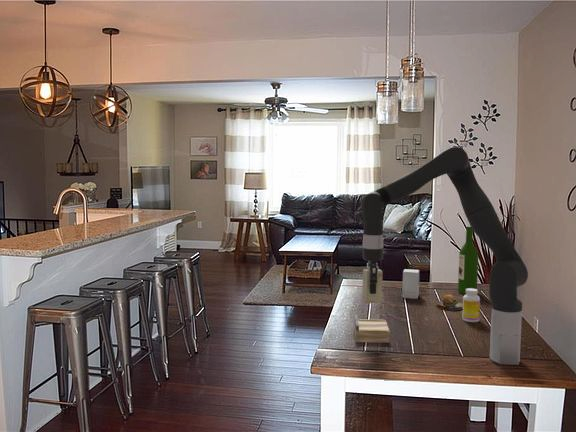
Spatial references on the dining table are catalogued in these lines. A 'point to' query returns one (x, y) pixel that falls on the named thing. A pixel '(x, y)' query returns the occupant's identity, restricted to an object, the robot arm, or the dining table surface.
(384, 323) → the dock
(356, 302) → the dining table surface
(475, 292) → the supplement bottle
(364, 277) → the skincare box
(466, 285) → the wine bottle
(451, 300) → the burger
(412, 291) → the supplement box
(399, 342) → the dining table surface
